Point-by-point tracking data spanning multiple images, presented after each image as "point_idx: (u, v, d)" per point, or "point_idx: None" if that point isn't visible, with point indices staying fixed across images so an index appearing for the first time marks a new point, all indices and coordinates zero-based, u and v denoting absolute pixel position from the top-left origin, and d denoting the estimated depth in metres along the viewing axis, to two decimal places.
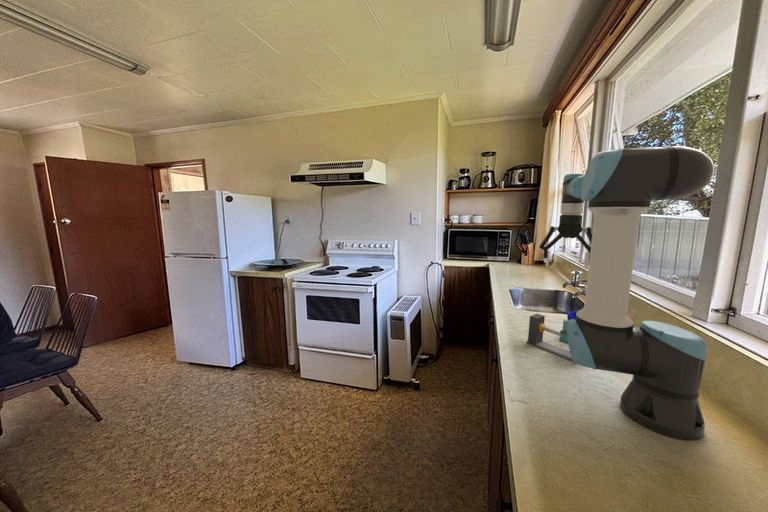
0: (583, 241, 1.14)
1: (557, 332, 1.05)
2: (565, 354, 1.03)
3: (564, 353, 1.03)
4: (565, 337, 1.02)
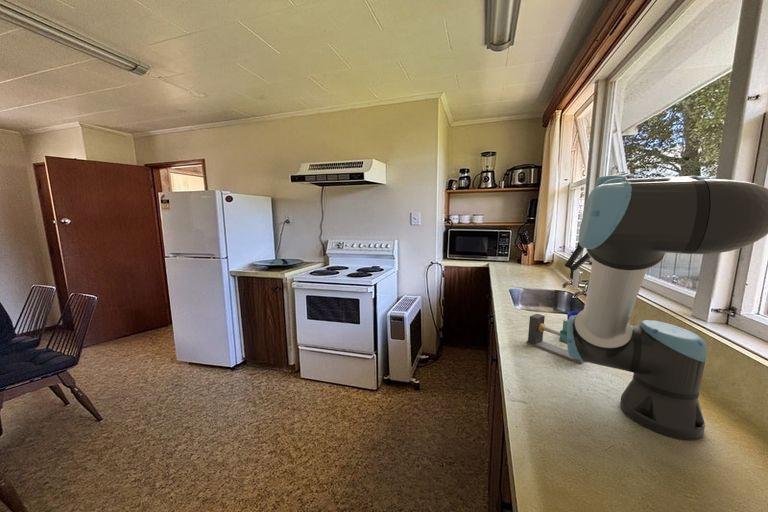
0: None
1: (557, 332, 1.05)
2: (565, 354, 1.03)
3: (564, 353, 1.03)
4: (565, 337, 1.02)
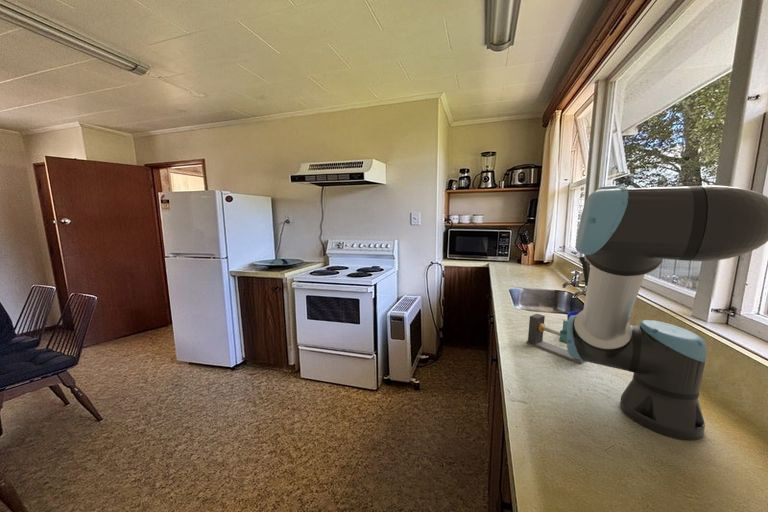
0: None
1: (557, 332, 1.05)
2: (565, 354, 1.03)
3: (564, 353, 1.03)
4: (565, 337, 1.02)
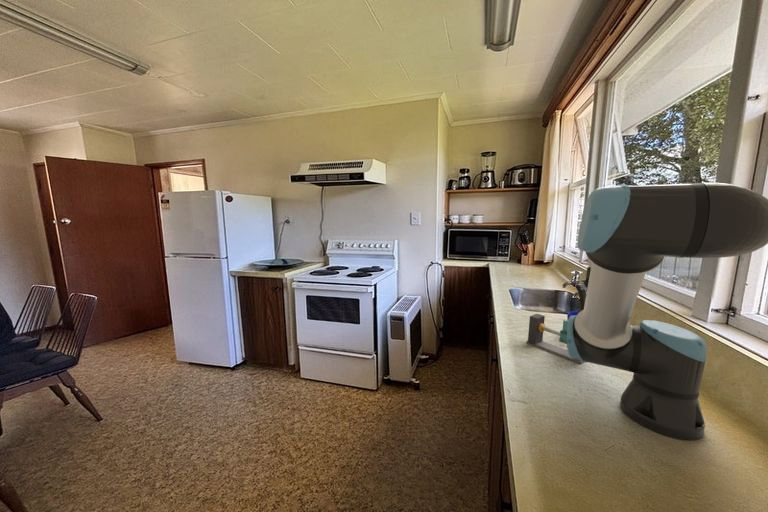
0: None
1: (557, 332, 1.05)
2: (565, 354, 1.03)
3: (564, 353, 1.03)
4: (565, 337, 1.02)
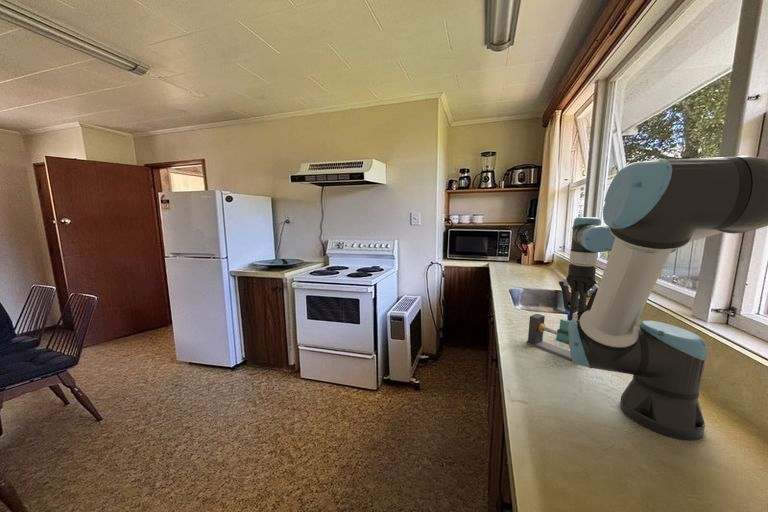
0: (581, 299, 0.97)
1: None
2: (565, 354, 1.03)
3: (564, 353, 1.03)
4: (562, 336, 1.03)
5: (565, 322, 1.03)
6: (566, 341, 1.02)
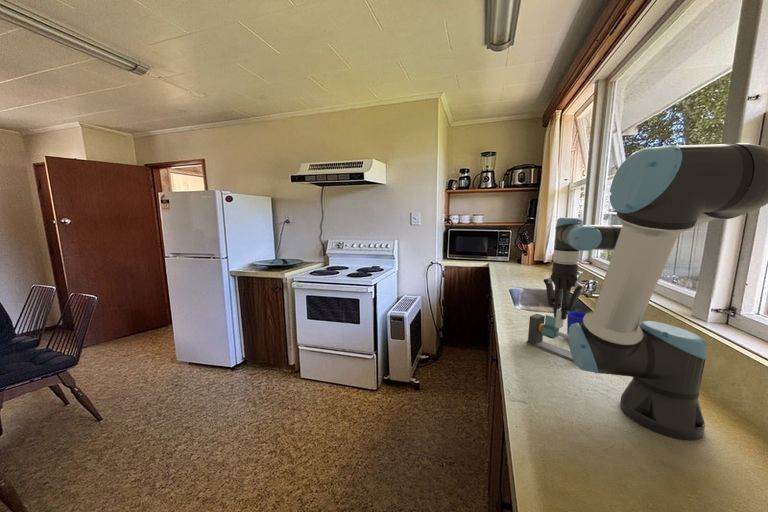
0: (564, 296, 1.02)
1: (557, 332, 1.05)
2: (565, 354, 1.03)
3: (564, 353, 1.03)
4: (547, 331, 1.07)
5: (550, 318, 1.07)
6: (551, 336, 1.06)
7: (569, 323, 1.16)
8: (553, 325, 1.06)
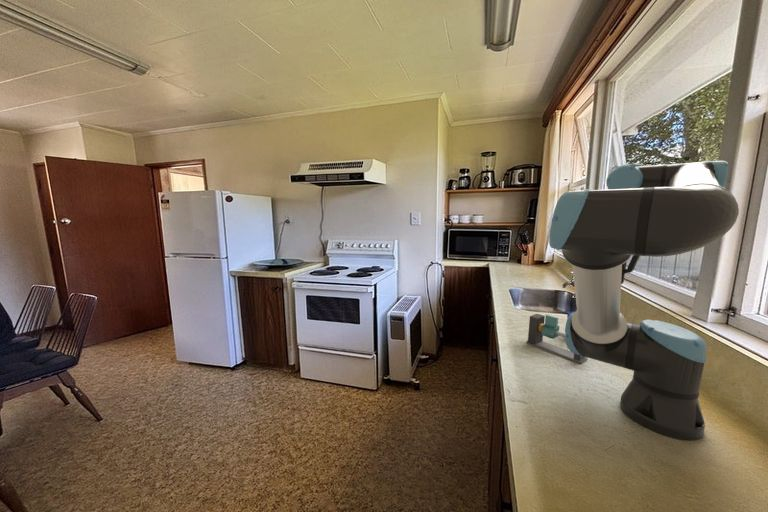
0: None
1: (557, 332, 1.05)
2: (565, 354, 1.03)
3: (564, 353, 1.03)
4: (547, 331, 1.07)
5: (550, 318, 1.07)
6: (551, 336, 1.06)
7: None
8: (553, 325, 1.06)
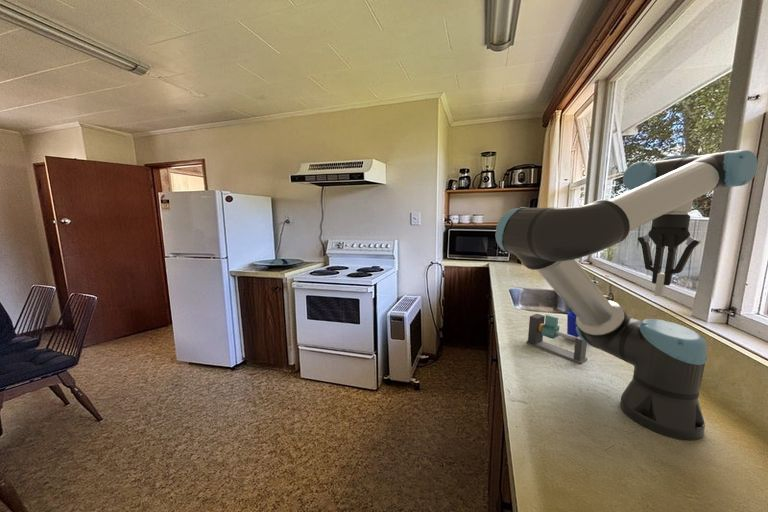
0: (670, 256, 0.82)
1: (557, 332, 1.05)
2: (565, 354, 1.03)
3: (564, 353, 1.03)
4: (547, 331, 1.07)
5: (550, 318, 1.07)
6: (551, 336, 1.06)
7: (569, 323, 1.16)
8: (553, 325, 1.06)
